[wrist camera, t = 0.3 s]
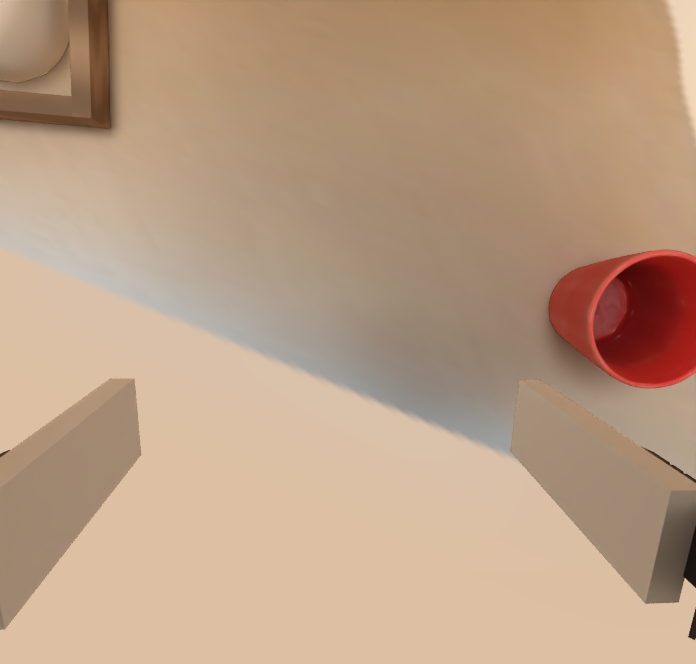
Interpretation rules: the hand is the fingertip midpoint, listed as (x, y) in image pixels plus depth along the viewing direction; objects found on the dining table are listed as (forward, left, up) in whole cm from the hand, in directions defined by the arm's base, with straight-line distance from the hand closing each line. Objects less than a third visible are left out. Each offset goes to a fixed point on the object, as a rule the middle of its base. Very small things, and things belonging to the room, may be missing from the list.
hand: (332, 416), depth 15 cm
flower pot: (-2, +25, -27) cm, 37 cm away
